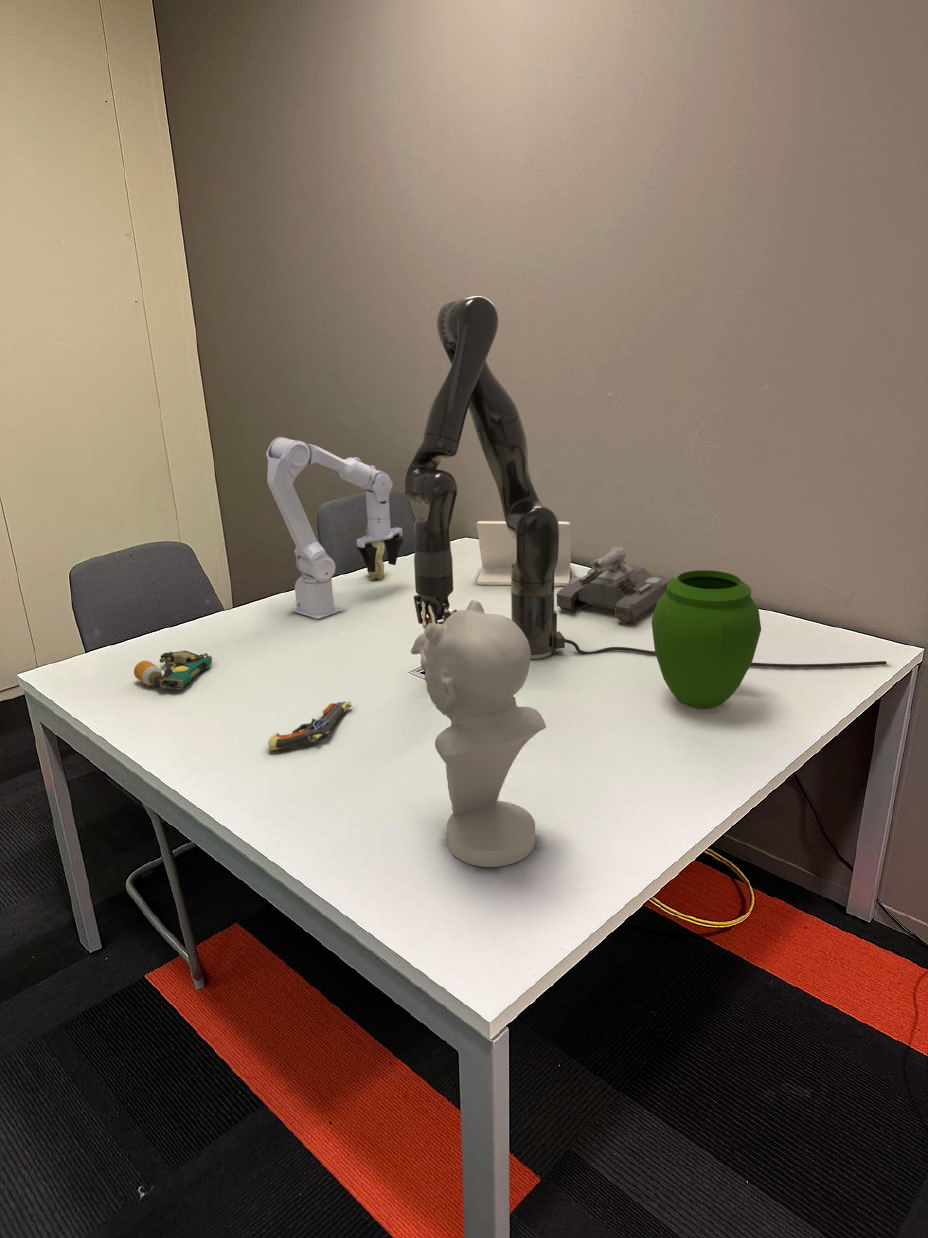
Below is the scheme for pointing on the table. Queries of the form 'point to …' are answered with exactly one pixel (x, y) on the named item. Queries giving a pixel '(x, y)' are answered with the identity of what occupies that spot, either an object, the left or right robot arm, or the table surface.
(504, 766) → the bust sculpture
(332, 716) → the toy gun
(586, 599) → the toy
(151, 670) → the spray gun
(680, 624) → the vase
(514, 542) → the tablet stand
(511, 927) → the table surface
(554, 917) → the table surface
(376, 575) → the sculpture
